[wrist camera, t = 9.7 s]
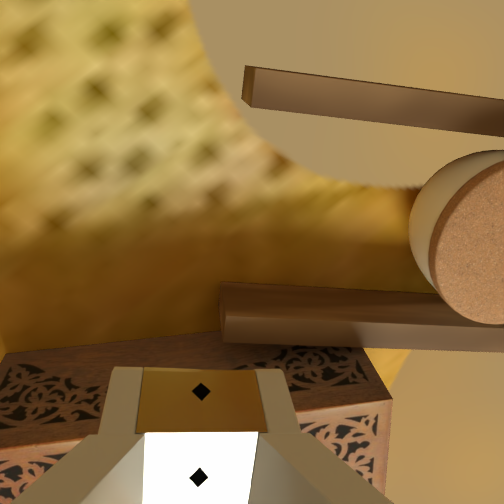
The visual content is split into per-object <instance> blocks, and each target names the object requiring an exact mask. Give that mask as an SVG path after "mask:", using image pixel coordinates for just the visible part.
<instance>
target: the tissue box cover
mask: <svg viewBox="0 0 504 504" xmlns="http://www.w3.org/2000/svg"><path fill="white" fill-rule="evenodd" d="M114 367H142V368H144V367H156V368H184V369H200V370H254V369H281V370H282V371H283V373H284V376H285V379H286V383H287V386H288V389H289V393H290V396H291V399H292V403H293V406H294V409H295V413H296V416H297V419H298V423H299V426H300V429H301V433H310V434H312V435H313V436H314V437H315V438H316V439H318V440H319V441H320V442H321V443H322V444H323V445H325V446H326V447H327V448H328V449H329V450H331V451H332V452H333V453H334V454H335V455H337V456H338V457H339V458H340V459H341V460H343V461H344V462H345V463H346V464H347V465H348V466H350V467H351V468H352V469H353V470H354V471H356V472H357V473H358V474H359V475H360V476H362V477H363V478H364V479H365V480H366V481H368V482H369V483H370V484H371V485H372V486H374V487H375V488H376V489H377V490H378V491H379V492H381V493H382V494H383V495H384V494H385V483H386V471H387V460H388V449H389V437H390V426H391V414H392V401H393V398H392V397H391V395H390V393H389V392H388V390H387V388H386V387H385V385H384V383H383V381H382V380H381V378H380V376H379V375H378V373H377V371H376V370H375V368H374V366H373V365H372V363H371V361H370V359H369V358H368V356H367V354H366V353H365V351H364V349H363V348H362V347H335V346H307V345H279V344H251V343H223V339H222V331H212V332H203V333H194V334H185V335H175V336H166V337H157V338H148V339H138V340H129V341H120V342H111V343H101V344H92V345H83V346H74V347H64V348H55V349H46V350H37V351H27V352H18V353H9V354H6V355H5V357H4V358H3V360H2V362H1V363H0V504H10V503H11V502H12V501H13V500H14V499H15V498H17V497H18V496H19V495H20V494H21V493H22V492H23V491H25V490H26V489H27V488H28V487H29V486H30V485H31V484H33V483H34V482H35V481H36V480H37V479H38V478H39V477H41V476H42V475H43V474H44V473H45V472H46V471H47V470H49V469H50V468H51V467H52V466H53V465H54V464H55V463H57V462H58V461H59V460H60V459H61V458H62V457H63V456H65V455H66V454H67V453H68V452H69V451H70V450H71V449H73V448H74V447H75V446H76V445H77V444H78V443H80V442H81V441H82V440H83V439H84V438H85V437H86V436H88V435H98V431H99V427H100V422H101V418H102V413H103V409H104V404H105V400H106V395H107V391H108V386H109V382H110V377H111V373H112V370H113V369H114Z"/></svg>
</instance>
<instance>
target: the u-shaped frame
mask: <svg viewBox="0 0 504 504" xmlns="http://www.w3.org/2000/svg"><path fill="white" fill-rule="evenodd" d="M241 99H242V100H243V101H244V102H246V103H247V104H248V105H249V106H250V107H253V108H261V109H269V110H279V111H286V112H295V113H303V114H312V115H320V116H329V117H337V118H346V119H354V120H363V121H371V122H380V123H388V124H397V125H405V126H414V127H422V128H430V129H439V130H448V131H456V132H464V133H473V134H481V135H490V136H498V137H504V100H503V99H494V98H487V97H480V96H473V95H465V94H457V93H450V92H442V91H434V90H427V89H420V88H412V87H405V86H396V85H389V84H382V83H374V82H367V81H359V80H352V79H344V78H336V77H328V76H321V75H314V74H306V73H298V72H291V71H284V70H275V69H269V68H261V67H253V66H246V65H245V71H244V81H243V89H242V98H241ZM218 307H219V315H220V323H221V331H222V339H223V343H251V344H279V345H307V346H335V347H362V348H390V349H421V350H447V351H473V352H501V353H502V352H504V324H485V323H480V322H476V321H473V320H470V319H468V318H466V317H464V316H462V315H460V314H459V313H458V312H456V311H455V310H453V309H452V308H451V307H450V306H449V305H448V304H447V303H446V302H445V301H444V299H443V298H442V297H441V296H440V294H428V293H411V292H393V291H376V290H358V289H341V288H323V287H305V286H288V285H270V284H253V283H235V282H221V285H220V294H219V303H218Z"/></svg>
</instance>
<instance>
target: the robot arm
mask: <svg viewBox="0 0 504 504" xmlns="http://www.w3.org/2000/svg"><path fill="white" fill-rule="evenodd" d="M10 504H394V503H393V502H391V501H390V500H389V499H388V498H387V497H385V496H384V495H383V494H382V493H381V492H379V491H378V490H377V489H376V488H375V487H374V486H372V485H371V484H370V483H369V482H368V481H366V480H365V479H364V478H363V477H362V476H360V475H359V474H358V473H357V472H356V471H354V470H353V469H352V468H351V467H350V466H348V465H347V464H346V463H345V462H344V461H343V460H341V459H340V458H339V457H338V456H337V455H335V454H334V453H333V452H332V451H331V450H329V449H328V448H327V447H326V446H325V445H323V444H322V443H321V442H320V441H319V440H318V439H316V438H315V437H314V436H313V435H312V434H310V433H301V429H300V426H299V423H298V419H297V416H296V413H295V409H294V406H293V403H292V399H291V396H290V393H289V389H288V386H287V383H286V379H285V376H284V373H283V371H282V370H281V369H254V370H200V369H184V368H156V367H144V368H142V367H114V369H113V370H112V373H111V377H110V382H109V386H108V391H107V395H106V400H105V404H104V409H103V413H102V418H101V422H100V427H99V431H98V435H88V436H86V437H85V438H84V439H83V440H82V441H81V442H80V443H78V444H77V445H76V446H75V447H74V448H73V449H71V450H70V451H69V452H68V453H67V454H66V455H65V456H63V457H62V458H61V459H60V460H59V461H58V462H57V463H55V464H54V465H53V466H52V467H51V468H50V469H49V470H47V471H46V472H45V473H44V474H43V475H42V476H41V477H39V478H38V479H37V480H36V481H35V482H34V483H33V484H31V485H30V486H29V487H28V488H27V489H26V490H25V491H23V492H22V493H21V494H20V495H19V496H18V497H17V498H15V499H14V500H13V501H12V502H11V503H10Z"/></svg>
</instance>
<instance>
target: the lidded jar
mask: <svg viewBox="0 0 504 504" xmlns="http://www.w3.org/2000/svg"><path fill="white" fill-rule="evenodd" d="M408 228H409V242H410V247H411V251H412V253H413V256H414V258H415V261H416V263H417V265H418V267H419V268H420V270H421V271H422V273H423V275H424V276H425V277H426V279H427V280H428V282H429V283H430V284H431V285H432V286H433V287H434V288H435V289H436V290H437V291H438V293H439V294H440V296H441V297H442V298H443V299H444V301H445V302H446V303H447V304H448V305H449V306H450V307H451V308H452V309H453V310H455V311H456V312H458V313H459V314H460V315H462V316H464V317H466V318H468V319H470V320H473V321H476V322H480V323H485V324H504V150H489V151H481V152H476V153H472V154H469V155H466V156H463V157H461V158H458V159H456V160H454V161H452V162H450V163H448V164H447V165H445V166H444V167H443V168H441V169H440V170H438V171H437V172H436V173H435V174H434V175H433V176H432V177H431V178H430V179H429V180H428V181H427V182H426V184H425V185H424V186H423V187H422V189H421V191H420V192H419V194H418V195H417V197H416V200H415V202H414V204H413V207H412V210H411V213H410V218H409V225H408Z"/></svg>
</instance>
